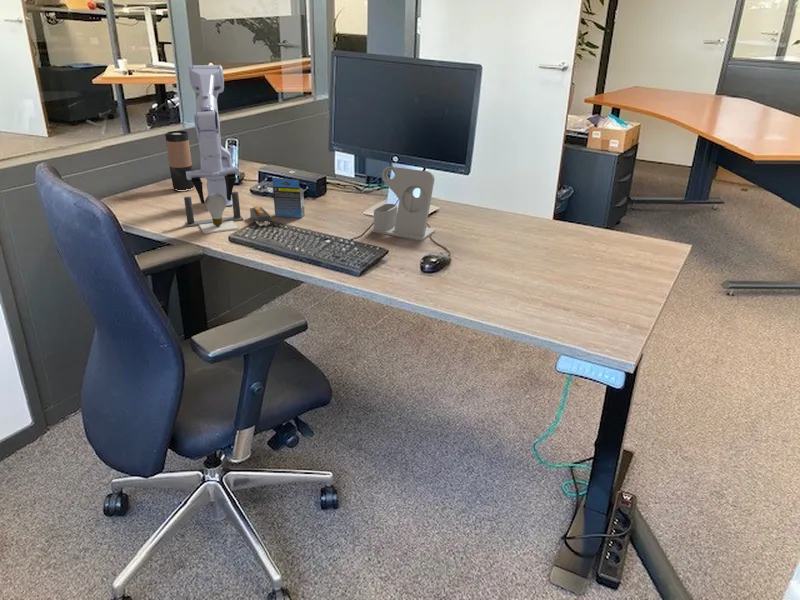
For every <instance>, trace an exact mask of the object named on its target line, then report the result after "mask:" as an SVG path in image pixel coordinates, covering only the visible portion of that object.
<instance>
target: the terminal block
mask: <svg viewBox="0 0 800 600" xmlns="http://www.w3.org/2000/svg"><path fill="white" fill-rule="evenodd" d="M252 206H253V208H252V207H250V208H249V212H250V218H251V220H252V221H253V222H254V221H258V222H264V221H268V222H271V219H272V218H271V215H270V214H269V213H268V212H267V211H266V210H265V208H263V207H262V206H258V205H252ZM271 223H272V222H271Z"/></svg>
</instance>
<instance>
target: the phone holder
mask: <svg viewBox="0 0 800 600" xmlns="http://www.w3.org/2000/svg"><path fill="white" fill-rule="evenodd" d="M389 171H393V172H394V176H393V177H392V178H389V177H388V173H389ZM381 179H382V182H383V183H385V184H386V186H387V187H388V188H389V189H390V190H391V191H392V192H393V194H394V195H396V197H397V198H398V200H399V201H398V206H397V204H395V203H385V204H382V205H380V206H379V207H376V208H374V209H373V228H372V232H373V233H377V234H383V235H388V236H394V237H399V238H404V239H411V240H415V241H416V240H417V241H424V240H426V239H427V238H429V237H430V236H432V235H433V234H434V233H436V229H435V228H433V227H427V224H428V218H429V213H430V208H431V207H430V206H431V201H432V196H433V190H434V183H435V175H434V174H433V173H432V172H430V171H427V170H421V169H420V170H419V169H412V168H411V169H410V168H404V167H395V166H386V167H385V168H383V170H382V174H381ZM415 189H419V190H420V193H421V194H420V195H419V196H418V197H415V196H414V191H415Z"/></svg>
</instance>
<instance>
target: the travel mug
mask: <svg viewBox="0 0 800 600" xmlns="http://www.w3.org/2000/svg"><path fill="white" fill-rule="evenodd" d="M164 135H165V144H166V150H167V151H166V152H167V157H168V166H169V172H170V178H171V182H172V188H174V189H177V190H186V189H191V188H193V187H194V188H195V186H194V184H193V183H192V181H191V180H188V179H187V177H186V172H189V171H194V170H193V162H192V161H193V160H192V156H191V155H192V154H191V149H190V148H191V147H190V140H189V132H188V131H186V130H185V131H184V130H170V131H167V132H166V133H165V134H164ZM174 189H173V190H174Z"/></svg>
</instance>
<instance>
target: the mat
mask: <svg viewBox="0 0 800 600" xmlns="http://www.w3.org/2000/svg"><path fill="white" fill-rule="evenodd" d="M199 228H200V229H201V231H202V233H203V234H204V235H206V234H212V233H213V234H214V233H220V232H230V231H235V230H236V231H237V230H239V226H237V224H236V222H235V221H225V222H222V224H221V225H220V226H216V225H214V224H213V223H209V224H201V225H199Z"/></svg>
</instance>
